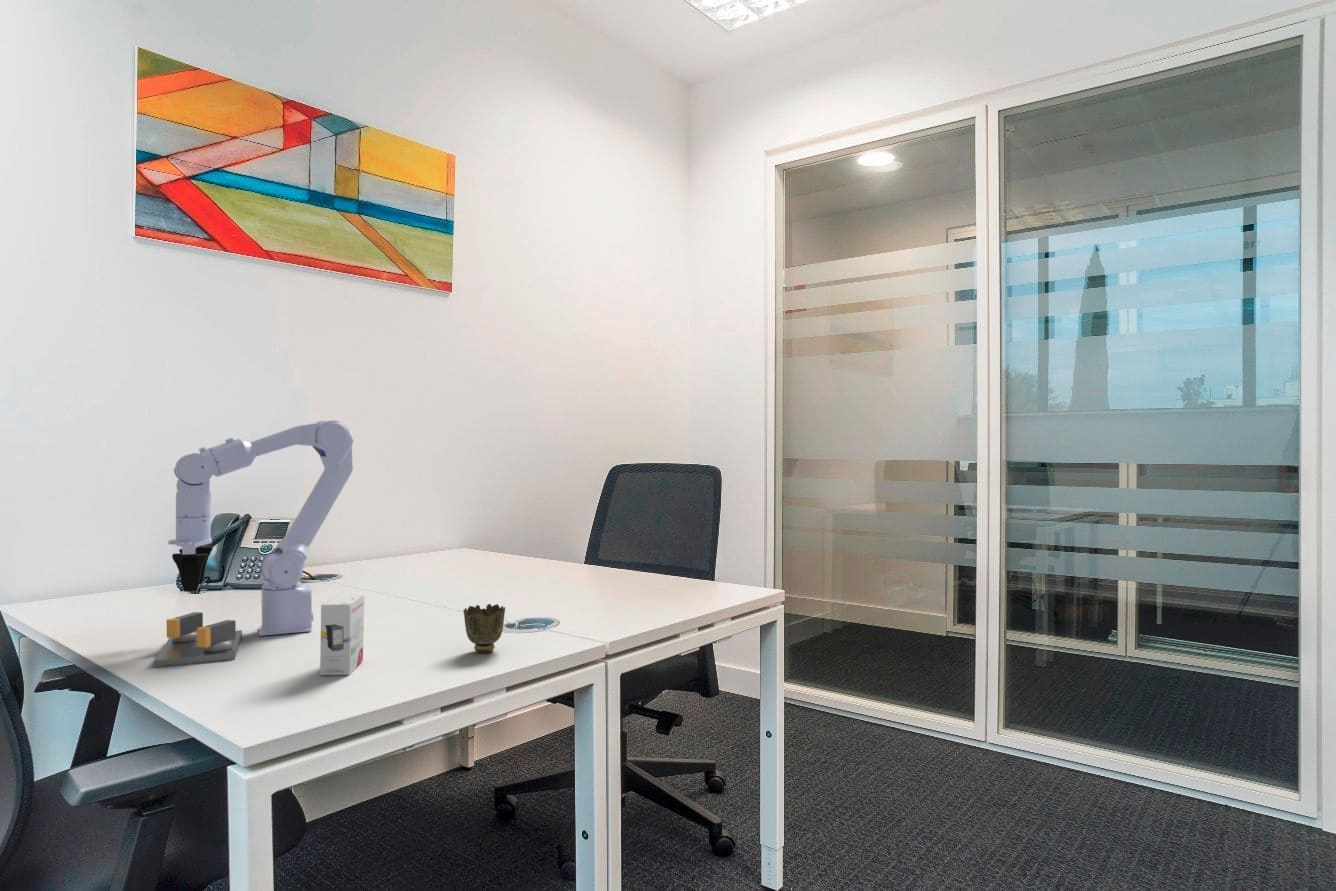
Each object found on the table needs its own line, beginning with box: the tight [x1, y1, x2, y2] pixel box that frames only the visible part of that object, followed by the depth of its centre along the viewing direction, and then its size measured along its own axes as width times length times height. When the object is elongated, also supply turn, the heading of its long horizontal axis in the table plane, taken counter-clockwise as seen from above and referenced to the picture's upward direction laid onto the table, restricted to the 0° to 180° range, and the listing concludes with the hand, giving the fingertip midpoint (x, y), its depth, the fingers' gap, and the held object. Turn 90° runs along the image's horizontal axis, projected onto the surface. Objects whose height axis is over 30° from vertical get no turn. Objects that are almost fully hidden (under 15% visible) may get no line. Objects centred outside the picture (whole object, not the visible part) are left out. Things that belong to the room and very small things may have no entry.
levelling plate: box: [153, 629, 243, 668], centre depth 145 cm, size 12×18×3 cm, turn 25°
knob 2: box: [197, 619, 237, 652], centre depth 141 cm, size 7×4×4 cm, turn 166°
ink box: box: [319, 594, 365, 676], centre depth 133 cm, size 9×5×12 cm, turn 6°
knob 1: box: [166, 611, 204, 642], centre depth 148 cm, size 7×4×4 cm, turn 171°
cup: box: [462, 603, 506, 654], centre depth 144 cm, size 8×7×8 cm
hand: (193, 587), depth 151 cm, fingers open, 7 cm apart
